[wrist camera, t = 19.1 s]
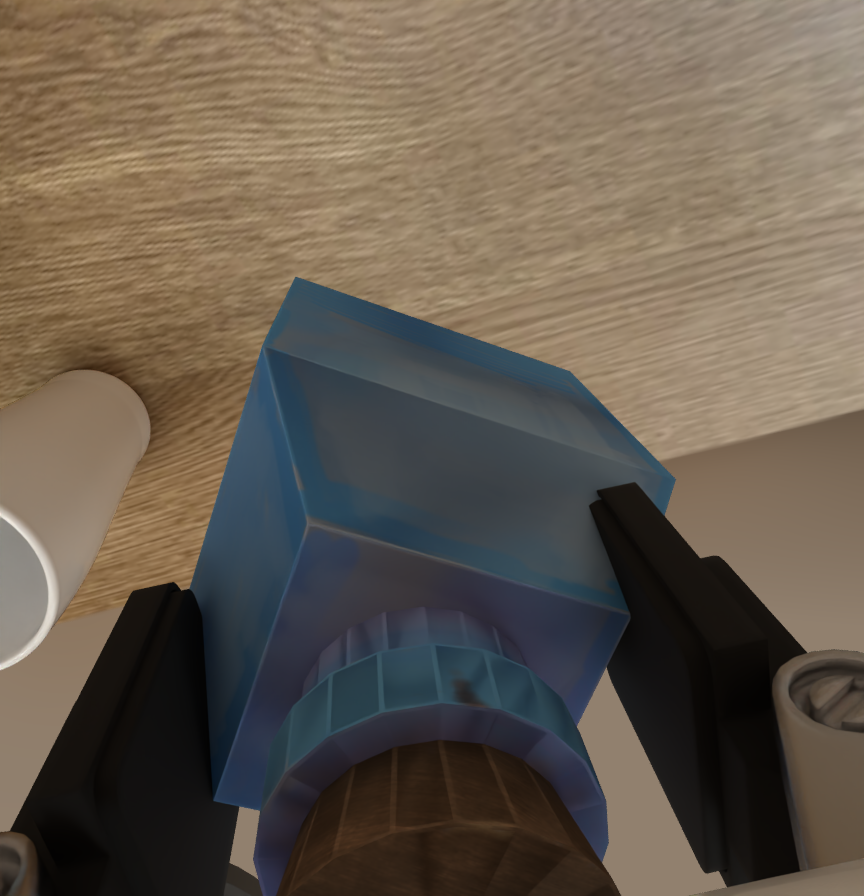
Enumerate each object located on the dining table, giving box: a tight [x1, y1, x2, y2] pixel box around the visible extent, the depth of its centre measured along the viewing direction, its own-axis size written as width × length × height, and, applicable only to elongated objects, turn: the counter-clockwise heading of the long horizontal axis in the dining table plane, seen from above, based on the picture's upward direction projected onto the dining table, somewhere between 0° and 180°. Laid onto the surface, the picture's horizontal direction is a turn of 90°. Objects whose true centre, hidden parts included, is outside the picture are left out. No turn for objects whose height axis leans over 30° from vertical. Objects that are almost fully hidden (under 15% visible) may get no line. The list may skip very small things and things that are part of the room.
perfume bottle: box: [190, 277, 676, 896], centre depth 12 cm, size 6×6×12 cm
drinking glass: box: [0, 370, 151, 670], centre depth 30 cm, size 7×7×15 cm
